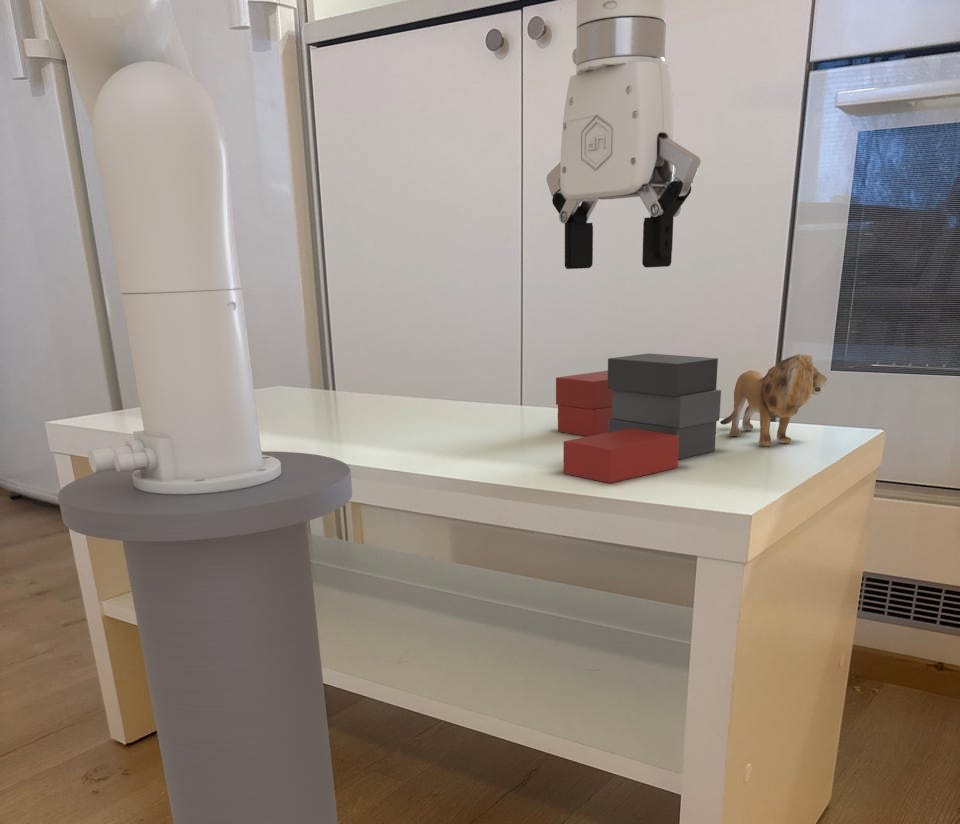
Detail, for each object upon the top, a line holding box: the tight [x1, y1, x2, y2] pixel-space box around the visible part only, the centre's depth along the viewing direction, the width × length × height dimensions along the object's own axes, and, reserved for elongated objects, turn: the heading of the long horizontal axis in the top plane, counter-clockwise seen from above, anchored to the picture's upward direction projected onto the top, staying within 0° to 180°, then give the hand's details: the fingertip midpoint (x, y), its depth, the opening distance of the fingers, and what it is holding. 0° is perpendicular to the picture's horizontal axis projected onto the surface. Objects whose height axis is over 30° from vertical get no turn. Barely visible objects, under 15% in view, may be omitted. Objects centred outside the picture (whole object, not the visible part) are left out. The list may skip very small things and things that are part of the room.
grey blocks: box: [607, 353, 722, 460], centre depth 95 cm, size 6×9×9 cm
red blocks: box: [555, 370, 612, 437], centre depth 108 cm, size 6×9×6 cm
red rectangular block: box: [563, 428, 679, 484], centre depth 87 cm, size 6×9×3 cm, turn 129°
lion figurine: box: [719, 353, 828, 447], centre depth 98 cm, size 15×5×9 cm, turn 21°
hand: (616, 267), depth 87 cm, fingers open, 9 cm apart
